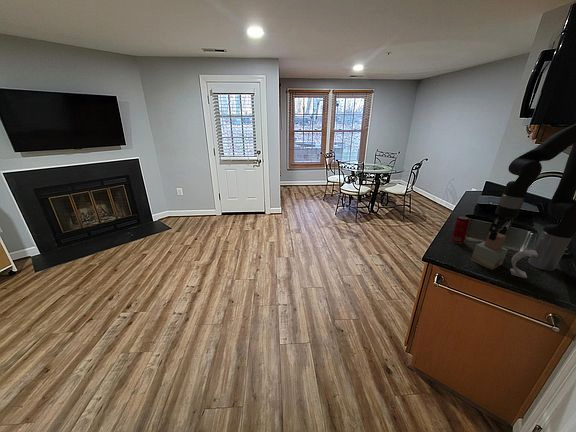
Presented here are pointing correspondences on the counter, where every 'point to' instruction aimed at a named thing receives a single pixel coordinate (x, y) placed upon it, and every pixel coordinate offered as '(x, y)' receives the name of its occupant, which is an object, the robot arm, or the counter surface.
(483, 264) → the tower bottom
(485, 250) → the tower top
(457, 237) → the beverage can
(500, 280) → the counter surface
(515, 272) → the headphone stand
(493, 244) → the terracotta block
